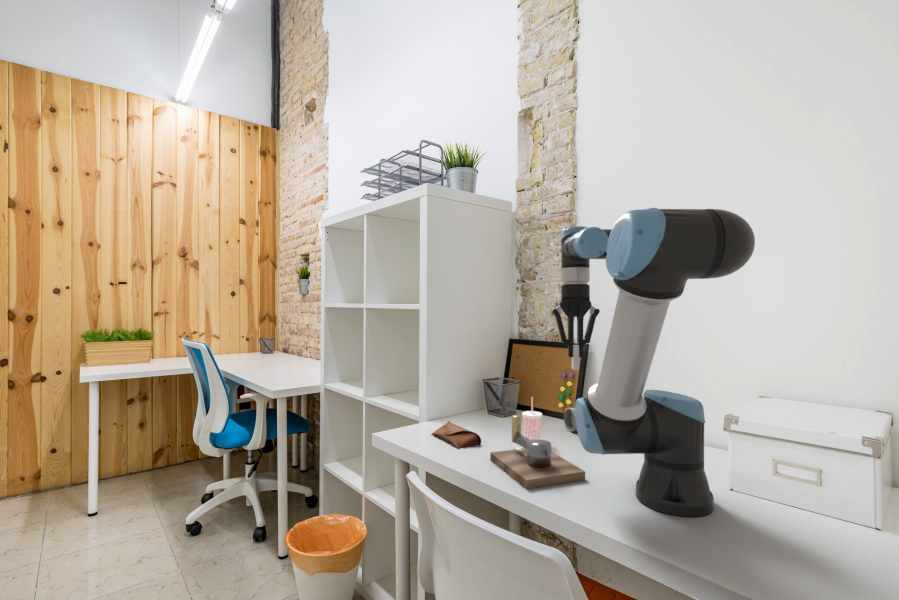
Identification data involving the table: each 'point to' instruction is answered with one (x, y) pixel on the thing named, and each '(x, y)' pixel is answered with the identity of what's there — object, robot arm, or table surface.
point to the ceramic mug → (570, 419)
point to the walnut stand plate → (536, 469)
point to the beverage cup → (532, 423)
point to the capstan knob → (531, 445)
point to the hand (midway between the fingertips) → (575, 368)
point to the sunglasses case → (457, 436)
